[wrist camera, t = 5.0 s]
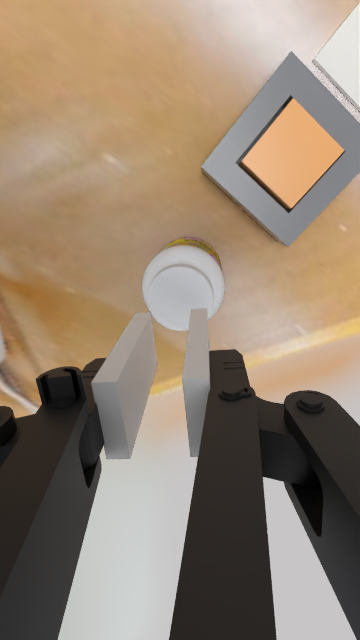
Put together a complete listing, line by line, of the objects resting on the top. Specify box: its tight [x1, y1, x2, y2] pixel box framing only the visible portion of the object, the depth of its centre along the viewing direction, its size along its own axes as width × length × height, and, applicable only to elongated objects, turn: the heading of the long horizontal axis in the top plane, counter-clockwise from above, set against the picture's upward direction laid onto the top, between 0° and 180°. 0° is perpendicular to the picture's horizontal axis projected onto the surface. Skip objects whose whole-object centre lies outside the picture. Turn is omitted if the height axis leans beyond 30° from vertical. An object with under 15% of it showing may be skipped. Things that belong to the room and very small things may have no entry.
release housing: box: [201, 51, 360, 247], centre depth 29 cm, size 10×10×4 cm
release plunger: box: [238, 98, 344, 208], centre depth 28 cm, size 6×6×4 cm
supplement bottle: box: [142, 237, 225, 331], centre depth 29 cm, size 7×7×13 cm
